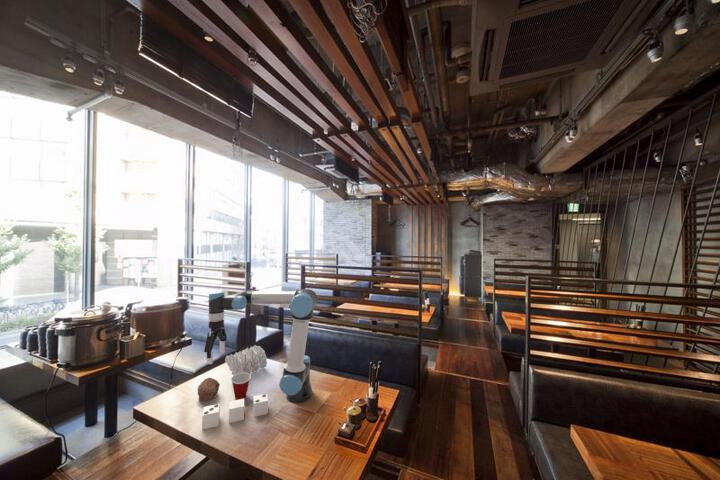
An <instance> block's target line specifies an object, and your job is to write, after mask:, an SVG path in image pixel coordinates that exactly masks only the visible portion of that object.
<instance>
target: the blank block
mask: <svg viewBox="0 0 720 480" xmlns="http://www.w3.org/2000/svg"><path fill="white" fill-rule="evenodd" d="M244 419H245V398H244V399H239V400H236V399H235V400H231V401H229V407H228V423H229V424H230V423H235V422H239V421H244Z"/></svg>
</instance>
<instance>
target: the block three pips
mask: <svg viewBox="0 0 720 480" xmlns="http://www.w3.org/2000/svg"><path fill="white" fill-rule="evenodd" d="M220 405H221V404H220V403H217V404H212V405H207V406H204V407H203V410H202V415H201V416H202V418H201V419H202V420H201V430H207V429H210V428H214V427H219V423H220V410H221V409H220V408H221V407H220Z"/></svg>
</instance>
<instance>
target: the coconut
mask: <svg viewBox="0 0 720 480" xmlns="http://www.w3.org/2000/svg"><path fill="white" fill-rule="evenodd" d="M219 389H220V382H219V381H218V380H217V379H215V378H212V377H207V378H204V380H202V382H201V383H200V384H199V385H198V386H197V396H198V400H199V401H200V400H201V401H204V402H206V401H209V400H212V399H215V398H216V396H217V395H218V393H219Z"/></svg>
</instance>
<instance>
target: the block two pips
mask: <svg viewBox="0 0 720 480" xmlns="http://www.w3.org/2000/svg"><path fill="white" fill-rule="evenodd" d="M252 398H253V404H252V409H253V413H252V414H253V418H254V417H255V418H256V417H259V416H263V415H268V414H269V397H268V393H263V394H258V395H253V397H252Z"/></svg>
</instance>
